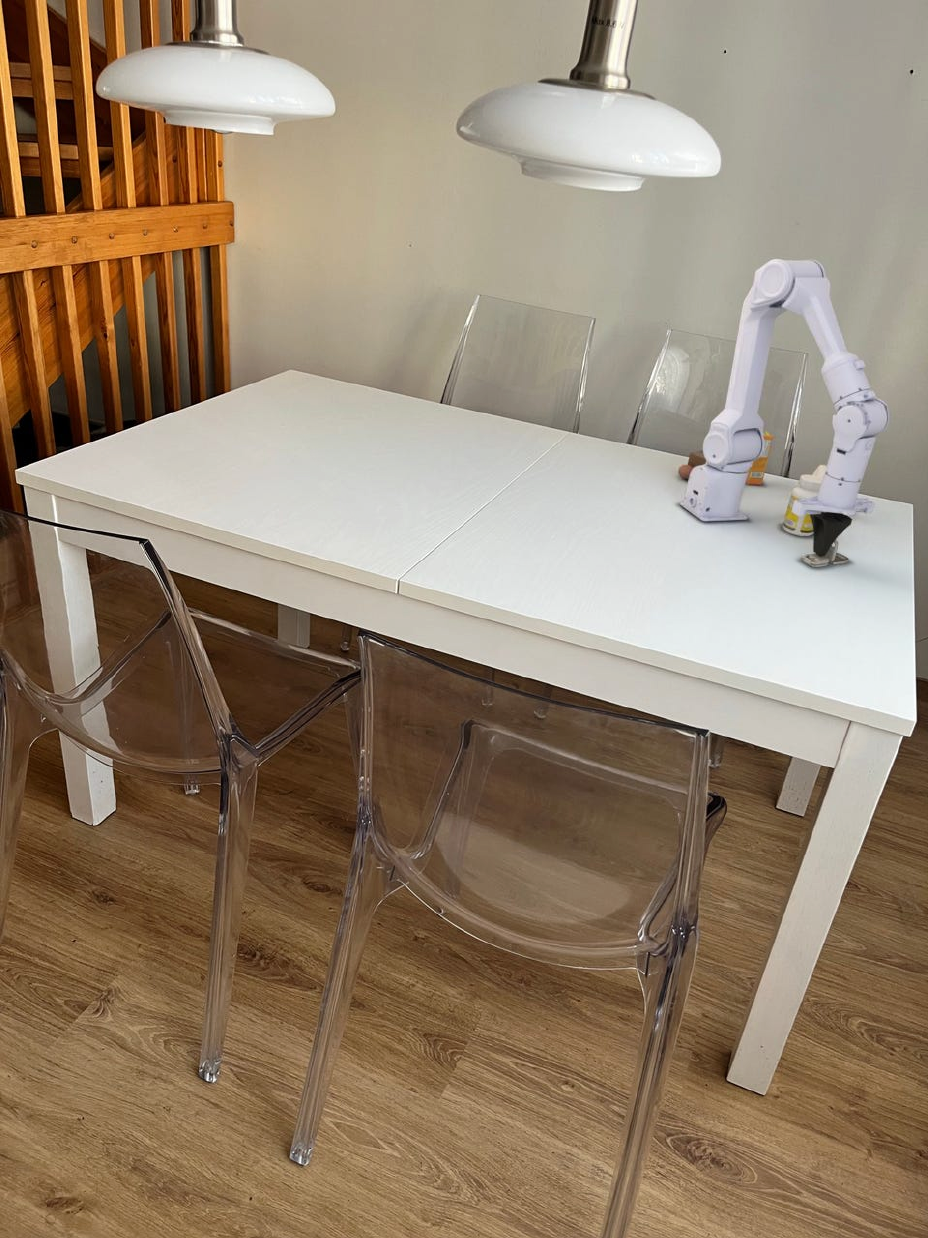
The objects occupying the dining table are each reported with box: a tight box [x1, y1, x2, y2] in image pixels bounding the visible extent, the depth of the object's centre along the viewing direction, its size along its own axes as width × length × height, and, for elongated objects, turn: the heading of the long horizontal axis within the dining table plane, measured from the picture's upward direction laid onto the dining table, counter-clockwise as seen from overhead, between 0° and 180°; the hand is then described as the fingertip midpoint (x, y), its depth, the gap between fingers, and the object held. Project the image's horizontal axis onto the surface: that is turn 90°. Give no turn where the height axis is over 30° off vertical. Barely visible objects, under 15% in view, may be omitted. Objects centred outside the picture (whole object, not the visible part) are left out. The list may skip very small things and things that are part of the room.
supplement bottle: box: [782, 474, 823, 537], centre depth 169 cm, size 5×5×10 cm
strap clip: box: [801, 539, 849, 568], centre depth 159 cm, size 8×3×4 cm, turn 117°
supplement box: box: [745, 431, 774, 486], centre depth 189 cm, size 3×3×10 cm
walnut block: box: [687, 449, 706, 468], centre depth 189 cm, size 5×5×5 cm
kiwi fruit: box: [677, 464, 694, 480], centre depth 189 cm, size 6×5×3 cm
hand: (818, 553), depth 159 cm, fingers closed
